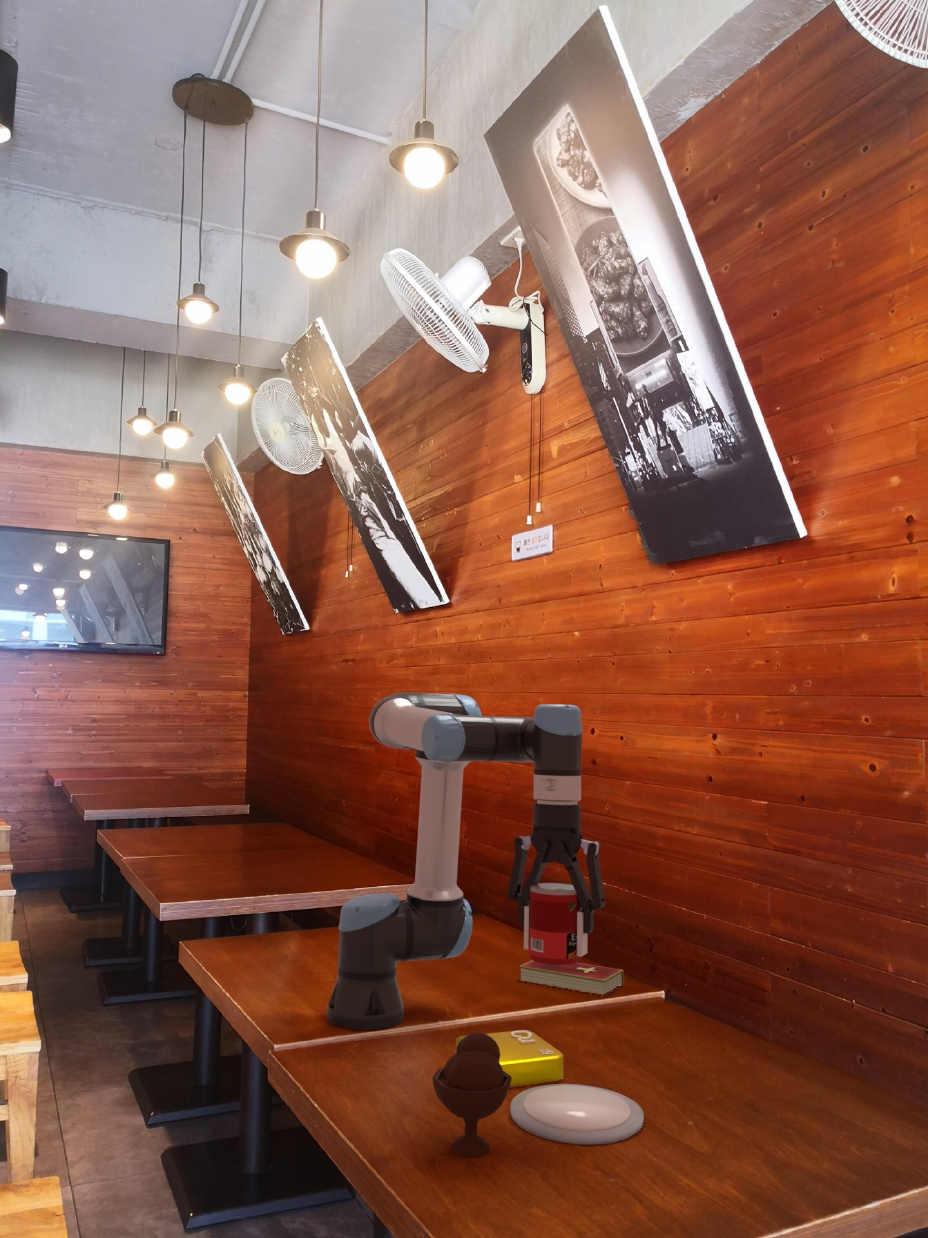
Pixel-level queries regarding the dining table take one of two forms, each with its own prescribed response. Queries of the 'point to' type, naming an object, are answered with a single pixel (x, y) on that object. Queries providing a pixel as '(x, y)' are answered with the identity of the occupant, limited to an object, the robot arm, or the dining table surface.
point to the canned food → (553, 923)
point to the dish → (576, 1114)
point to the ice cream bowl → (472, 1089)
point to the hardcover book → (573, 976)
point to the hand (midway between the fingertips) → (555, 951)
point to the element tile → (527, 1057)
